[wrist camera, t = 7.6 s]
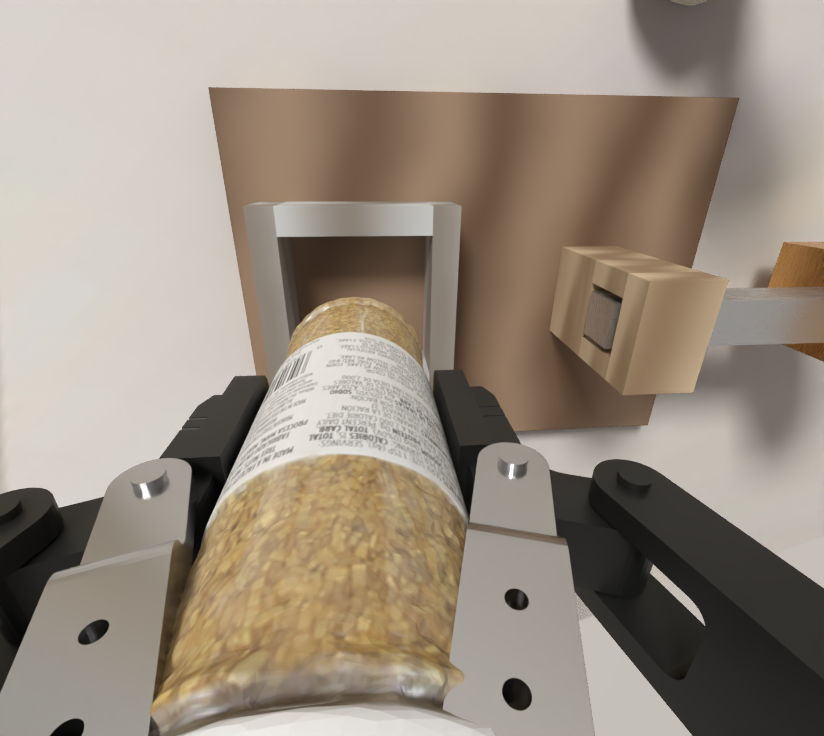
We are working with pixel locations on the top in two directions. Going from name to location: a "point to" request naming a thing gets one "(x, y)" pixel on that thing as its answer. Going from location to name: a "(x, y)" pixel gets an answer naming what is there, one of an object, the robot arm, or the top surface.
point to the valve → (688, 2)
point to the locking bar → (751, 307)
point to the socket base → (485, 233)
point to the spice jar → (328, 552)
